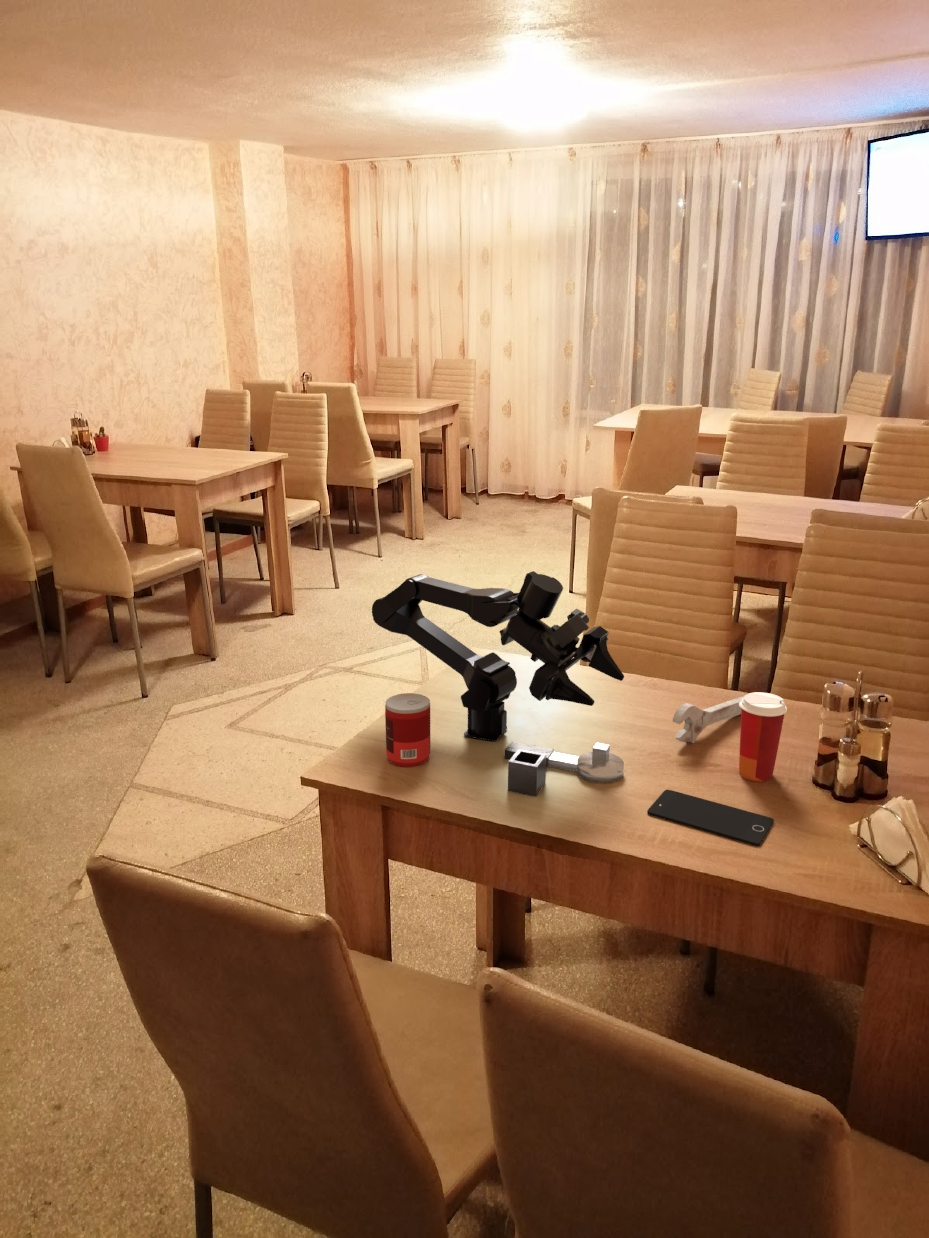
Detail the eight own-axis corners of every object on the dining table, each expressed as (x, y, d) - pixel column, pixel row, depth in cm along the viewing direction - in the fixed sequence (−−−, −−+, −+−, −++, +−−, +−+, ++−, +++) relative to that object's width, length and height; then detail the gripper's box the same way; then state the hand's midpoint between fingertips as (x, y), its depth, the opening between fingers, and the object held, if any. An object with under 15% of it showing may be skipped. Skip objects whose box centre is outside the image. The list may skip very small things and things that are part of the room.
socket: (507, 790, 158) (508, 761, 156) (517, 777, 162) (518, 748, 160) (536, 796, 156) (537, 766, 154) (545, 783, 160) (546, 754, 158)
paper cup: (779, 767, 166) (788, 694, 162) (778, 787, 159) (787, 711, 155) (733, 760, 168) (741, 688, 164) (730, 780, 162) (738, 705, 157)
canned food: (439, 757, 169) (439, 700, 166) (407, 772, 164) (406, 714, 160) (409, 744, 174) (409, 688, 171) (377, 758, 169) (376, 701, 165)
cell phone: (758, 849, 142) (759, 844, 142) (645, 816, 151) (646, 811, 151) (774, 823, 149) (775, 818, 149) (665, 793, 158) (666, 788, 158)
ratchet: (500, 764, 167) (500, 738, 165) (515, 745, 174) (515, 720, 172) (616, 786, 159) (618, 760, 157) (627, 766, 166) (629, 740, 164)
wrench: (756, 720, 192) (676, 751, 171) (748, 718, 193) (667, 747, 172) (763, 683, 190) (682, 709, 169) (754, 680, 191) (673, 706, 170)
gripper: (517, 627, 155) (592, 684, 149) (581, 583, 167) (653, 634, 161) (501, 674, 162) (571, 729, 156) (564, 628, 174) (631, 678, 168)
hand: (608, 690), depth 160 cm, fingers open, 9 cm apart
